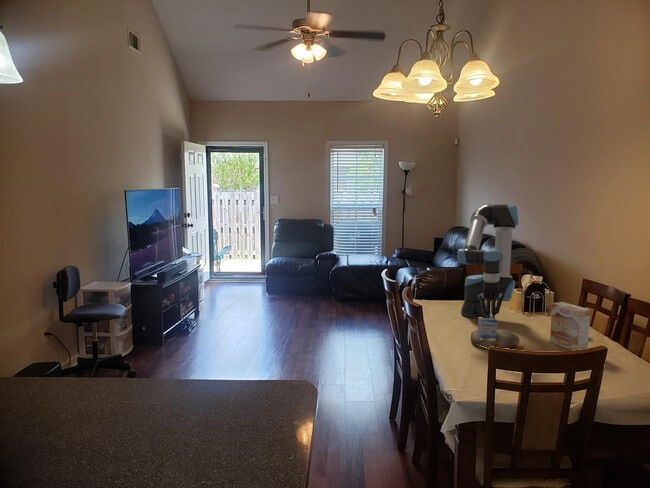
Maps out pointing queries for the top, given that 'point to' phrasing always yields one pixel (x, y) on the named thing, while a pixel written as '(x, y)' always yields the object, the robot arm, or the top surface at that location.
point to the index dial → (497, 339)
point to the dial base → (518, 347)
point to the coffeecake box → (569, 326)
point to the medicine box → (487, 327)
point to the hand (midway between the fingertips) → (490, 327)
